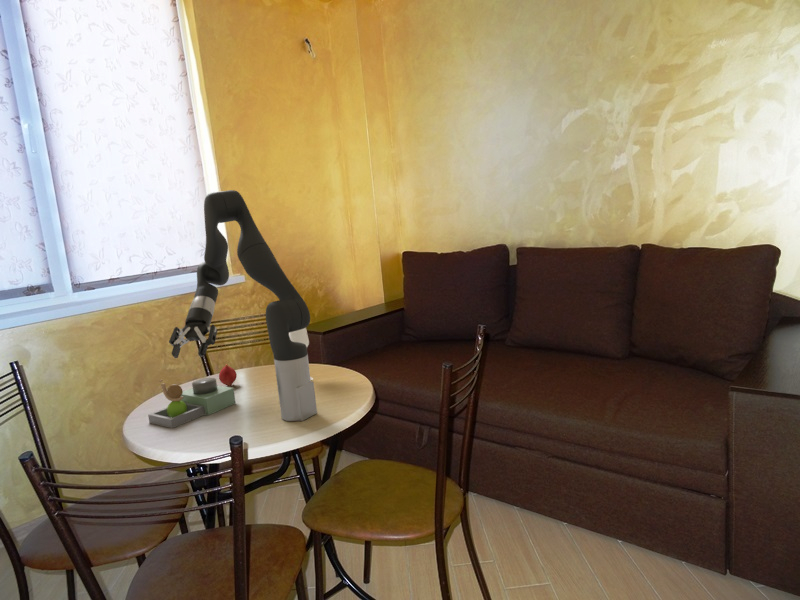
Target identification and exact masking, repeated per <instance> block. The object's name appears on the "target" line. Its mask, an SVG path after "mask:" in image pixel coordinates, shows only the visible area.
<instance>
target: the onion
mask: <svg viewBox="0 0 800 600" xmlns="http://www.w3.org/2000/svg"><path fill="white" fill-rule="evenodd" d="M218 380H219V381H220V383H222V384H223V385H224V386H226V387H231V386H232V385H233V383H234V382H235V381H236V380H237V372H236V370H235V368H233V367H231V366H229V364H228V363H225V365H224V366H223V367H222V369H220V372H219V374H218Z"/></svg>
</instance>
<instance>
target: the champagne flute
mask: <svg viewBox="0 0 800 600" xmlns="http://www.w3.org/2000/svg"><path fill="white" fill-rule="evenodd" d="M308 335H309V334H308V331H307V327H306V328H304V329H301V330H297V331H293V332H289V337H290V340H291V341H292V342H299V343H303V344H305V345H306V347H307V348H308V347H309V345H310V340H309V336H308ZM310 379H311V380H312V381H314V377H312V376H310Z"/></svg>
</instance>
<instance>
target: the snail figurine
mask: <svg viewBox="0 0 800 600" xmlns="http://www.w3.org/2000/svg"><path fill="white" fill-rule="evenodd" d="M159 382H160V388H161V391H162V392H163V395H164V397H165V399H167V400H168V401H170V403H169V404H168V405H167V406H166V408H167V413H168V415H169V416H168V417H170V418H173V417H176V416H178V415H181V414H183V413H186V411H187V406H186V404H185V403H184V402H183V401H181V400H182V399H183V396H182V397H180V396H181V395H182V392H183V388H182V387H181V386H180V385H179V384H176V383H173V384H171V385H169V386H168V388H167V385H166V383H163V379H159Z"/></svg>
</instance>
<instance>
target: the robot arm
mask: <svg viewBox="0 0 800 600" xmlns="http://www.w3.org/2000/svg"><path fill="white" fill-rule="evenodd" d="M203 208H204V209H203V212H204V213H203V216H204V229H205V247H204V248H205V249H204V257H203V259H204V261H202V262H201V263H199V264H198V265H197V268H196V281H197V282H196V283H197V284H196V290H195V293H194V296H193V299H192V302H191V303H190V306H189V309H188V312H187V315H186V317H185V323H184V327H182V328H179V327H178V326H175V327H174V328H173V331H172V333H171V335H170V338H169V340H168V343H169V344H170V345H171V346H172V347H173V348H172V351H171V355H172V357H174V359H178V358H179V355H180V352H181V349H182V347H183V346H184V345H186V344H187V343H189V342H193V341H196V342H197V341H200V342H201V343H200V345H199V349H198V353H197V354H198V356H199V357H201V358H203V357H204V356H205V355H206V354H207V350H208V347H209V346H211V345H215V344H216V339H217V335H218V328H217V327H216V325H214V324H211V323H212V319H213V317H214V313H215V306H216V303H217V299H218V296H219V290H218V287H217V286H224V285H226V284H227V283H228V280H229V278H230V270H229V266H228V263H227V258H228V254H229V253H228V251H229V243H228V241H227V239H226V237H225V236H224V235H223V233H222V232H221V231H220V230H219V228H218V226H219V224H221V223H228V222H229V223H230V222H234V221H235V222H237V223H238V226H239V228H240V234H239V239H238V243H237V250H236V251H237V252H236V254H237V257H238V261H240V264H241V265H242V268H243V269H244V272H245V273H246V274H247V275H248V276H249V278H250V279H252V280H254V281H255V282H256V283H258V284H259V285H261V286H263V287H265V288H266V289H268V290H269V291H270V292H272V293H273V294H274V295H275V296H276V297H277V299H279V300H275V301H271V302H269V303H268V304H267V305H266V308H265V321H266V326H267V327H266V328H267V332H268V334H267V335H268V339H269V345H270V348H271V351H272V354H273V362H274V368H275V378H276V385H277V393H278V401H279V402H278V403H279V409H280V416H281V419H282V420H283V421H287V422H298V421H302V422H303V421H306V419H309V418H311V417H313V416H314V415H316V414H318V410H317V400H316V391H315V383H314V380H312V381H311V379H310V377H311V372H310V365H309V364H310V363H309V354H308V347H306V345H305V344H303V343H299V342H292V341H291V340H290V337H289V332H293V331H297V330H301V329H304V328H306V329H307V327H309V325H310V322H311V314H310V311H309V307H308V306H307V303H306V301H305V300H304V299H303V297H302V296H301V294H300V293H299V292H298V290H297V289H296V288H295V287H294V285H293V284H292V283H291V281H290V280H289V277H287V276H286V274H285V271H283V268H282V267H281V265H280V264H279V262H278V261H277V258H276V257H275V255H274V253H273V251H272V250H271V248H270V246H269V244H267V241H266V240H265V238H264V237H263V235H262V234H261V232H260V230H259V228H258V226H257V224H256V222H255V220H254V219H253V217H252V214H251V212H250V210H249V207H248V205H247V203H246V201H245V199H244V197H243V195H241V193H240V192H239V191H237V190H234V189H233V190H232V189H230V190H223V191H222V190H221V191H213V192H210V193H207V195H205V198H204V203H203ZM207 334H208V338H206V335H207Z"/></svg>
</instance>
